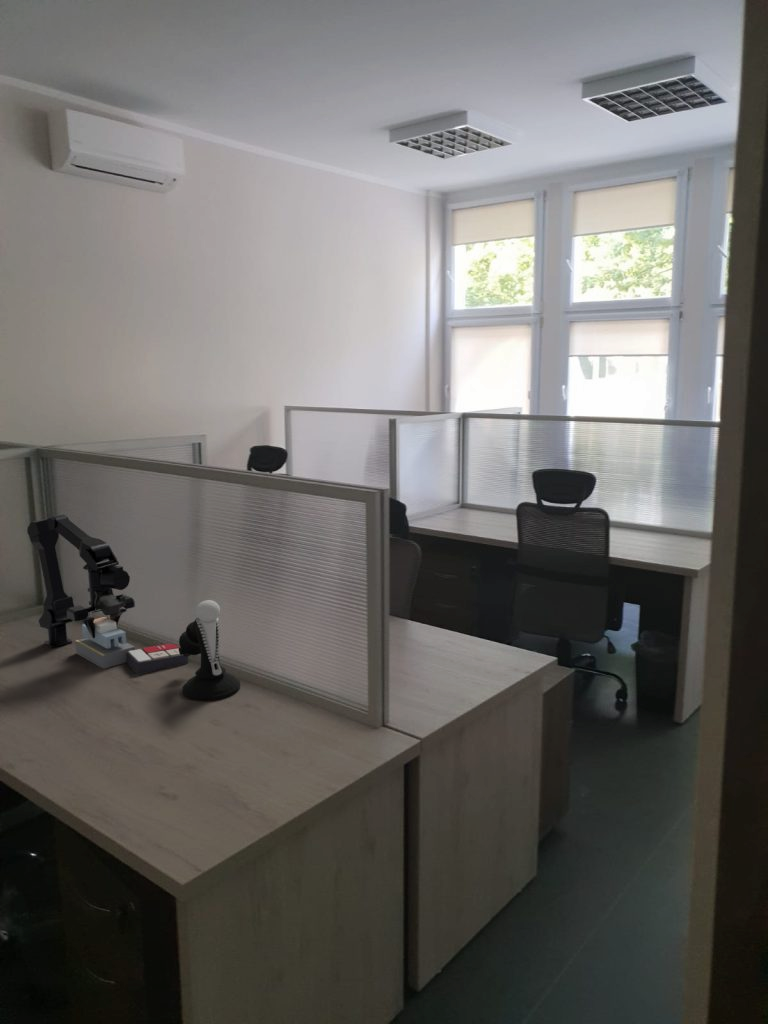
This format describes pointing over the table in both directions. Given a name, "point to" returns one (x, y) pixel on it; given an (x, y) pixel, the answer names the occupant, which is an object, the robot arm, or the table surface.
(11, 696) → the table surface
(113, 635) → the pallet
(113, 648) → the dock
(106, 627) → the off-white block
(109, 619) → the salmon brown block
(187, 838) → the table surface
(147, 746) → the table surface
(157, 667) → the grey red white box
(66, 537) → the robot arm
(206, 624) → the sculpture
